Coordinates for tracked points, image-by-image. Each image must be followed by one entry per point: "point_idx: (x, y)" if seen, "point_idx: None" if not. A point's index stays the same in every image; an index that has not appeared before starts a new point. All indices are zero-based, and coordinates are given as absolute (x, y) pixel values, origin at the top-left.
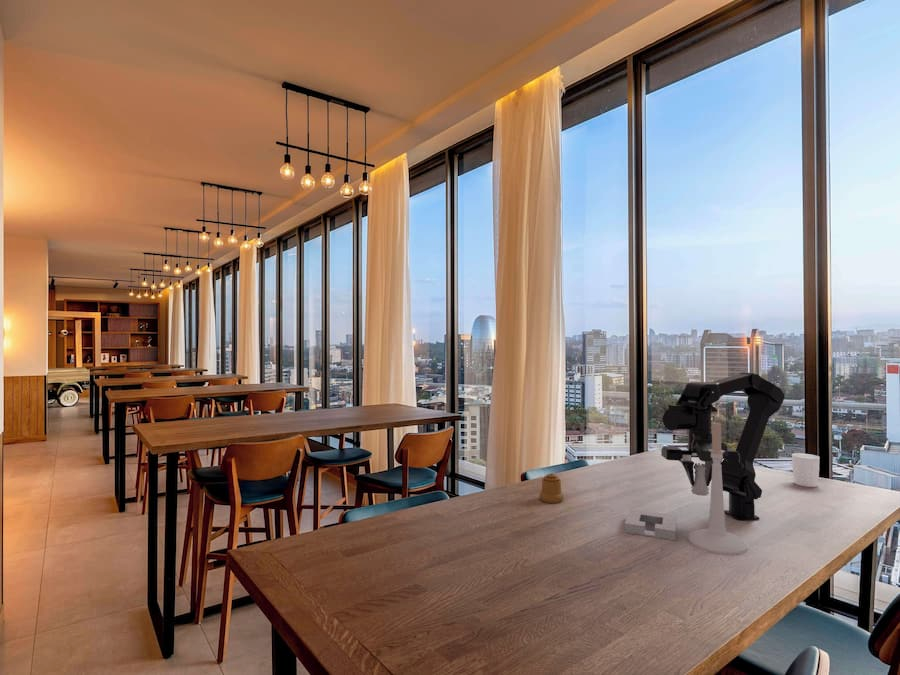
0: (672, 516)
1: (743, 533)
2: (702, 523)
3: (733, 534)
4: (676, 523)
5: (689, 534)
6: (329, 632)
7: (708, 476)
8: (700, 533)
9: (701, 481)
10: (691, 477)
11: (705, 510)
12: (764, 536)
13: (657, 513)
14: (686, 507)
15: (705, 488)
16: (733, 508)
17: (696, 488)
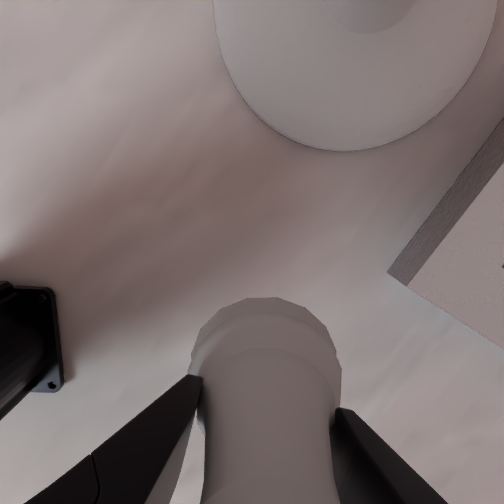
0: (438, 275)
1: (129, 125)
2: (251, 271)
3: (250, 2)
4: (396, 266)
5: (449, 99)
6: None
7: (171, 451)
8: (453, 14)
9: (287, 399)
10: (412, 481)
11: None
12: (44, 73)
13: (486, 327)
14: (201, 458)
15: (252, 329)
16: (23, 349)
17: (331, 356)
